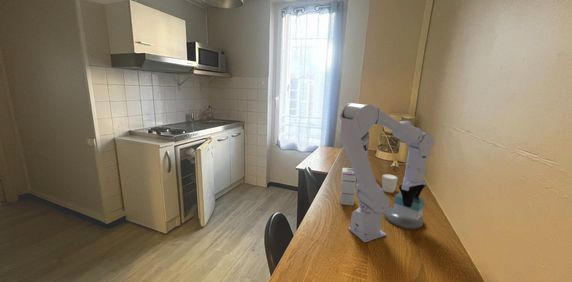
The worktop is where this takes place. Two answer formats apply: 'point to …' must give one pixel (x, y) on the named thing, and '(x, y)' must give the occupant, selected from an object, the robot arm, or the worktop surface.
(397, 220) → the slate stand
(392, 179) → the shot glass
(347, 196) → the syrup box
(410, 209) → the block
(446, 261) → the worktop surface
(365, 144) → the juice carton
